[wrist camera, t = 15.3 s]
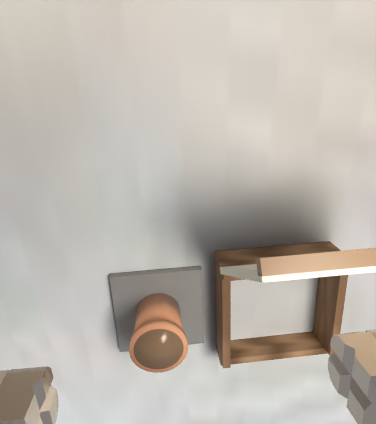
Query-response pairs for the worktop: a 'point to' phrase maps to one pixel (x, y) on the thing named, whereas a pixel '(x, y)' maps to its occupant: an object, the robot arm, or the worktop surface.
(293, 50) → the worktop surface
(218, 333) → the frame
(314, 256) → the cold frame lid
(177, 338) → the terracotta pot
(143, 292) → the slate tile
